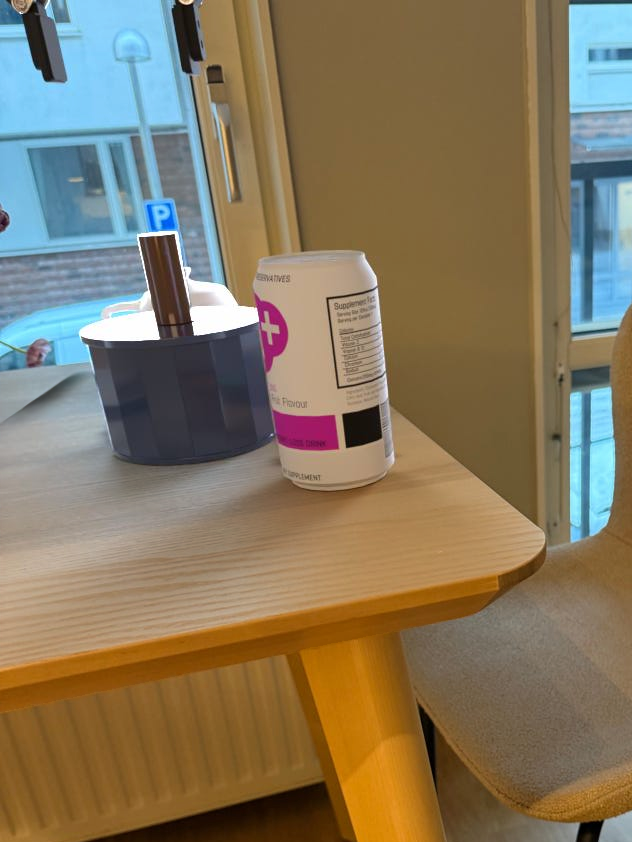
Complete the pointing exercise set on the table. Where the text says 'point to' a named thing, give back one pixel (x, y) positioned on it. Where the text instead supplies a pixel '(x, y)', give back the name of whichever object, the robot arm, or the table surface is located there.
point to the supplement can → (325, 367)
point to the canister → (185, 400)
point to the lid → (168, 307)
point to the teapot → (199, 296)
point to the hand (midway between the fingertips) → (124, 78)
